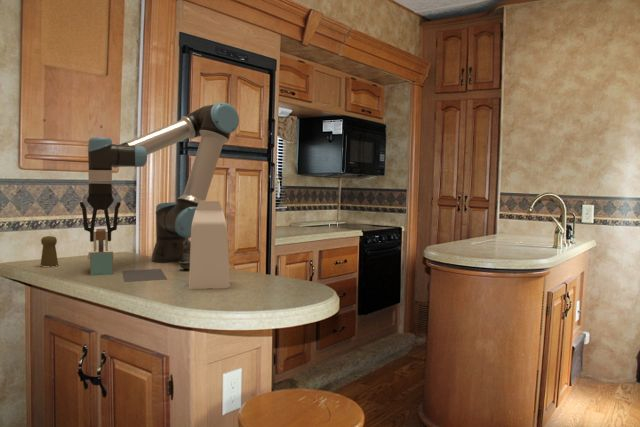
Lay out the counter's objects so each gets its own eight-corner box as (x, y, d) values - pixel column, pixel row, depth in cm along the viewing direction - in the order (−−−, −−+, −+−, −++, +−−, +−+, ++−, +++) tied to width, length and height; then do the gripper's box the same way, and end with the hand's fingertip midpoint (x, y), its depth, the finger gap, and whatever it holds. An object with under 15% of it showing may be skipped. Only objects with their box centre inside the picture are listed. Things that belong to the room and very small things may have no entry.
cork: (53, 267, 199) (52, 237, 198) (36, 267, 199) (36, 237, 198) (61, 264, 205) (61, 235, 204) (45, 264, 205) (45, 235, 204)
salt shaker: (198, 270, 195) (198, 237, 195) (192, 273, 189) (192, 238, 189) (182, 270, 196) (182, 236, 195) (176, 272, 190) (176, 238, 189)
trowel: (89, 253, 195) (89, 228, 195) (113, 252, 198) (113, 228, 198) (87, 259, 181) (87, 232, 181) (113, 258, 184) (113, 232, 184)
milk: (188, 289, 162) (188, 201, 160) (190, 282, 173) (190, 200, 172) (229, 288, 164) (229, 201, 163) (228, 281, 175) (228, 200, 174)
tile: (112, 275, 184) (112, 251, 184) (113, 275, 183) (112, 252, 182) (90, 276, 182) (90, 252, 181) (90, 277, 180) (89, 252, 180)
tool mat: (160, 270, 194) (160, 268, 194) (167, 281, 174) (167, 279, 174) (121, 272, 189) (121, 270, 189) (124, 283, 169) (124, 281, 169)
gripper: (124, 183, 194) (125, 249, 195) (75, 182, 188) (76, 250, 189) (125, 183, 187) (125, 251, 188) (74, 182, 181) (74, 253, 182)
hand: (100, 250), depth 189 cm, fingers closed on trowel, 3 cm apart
